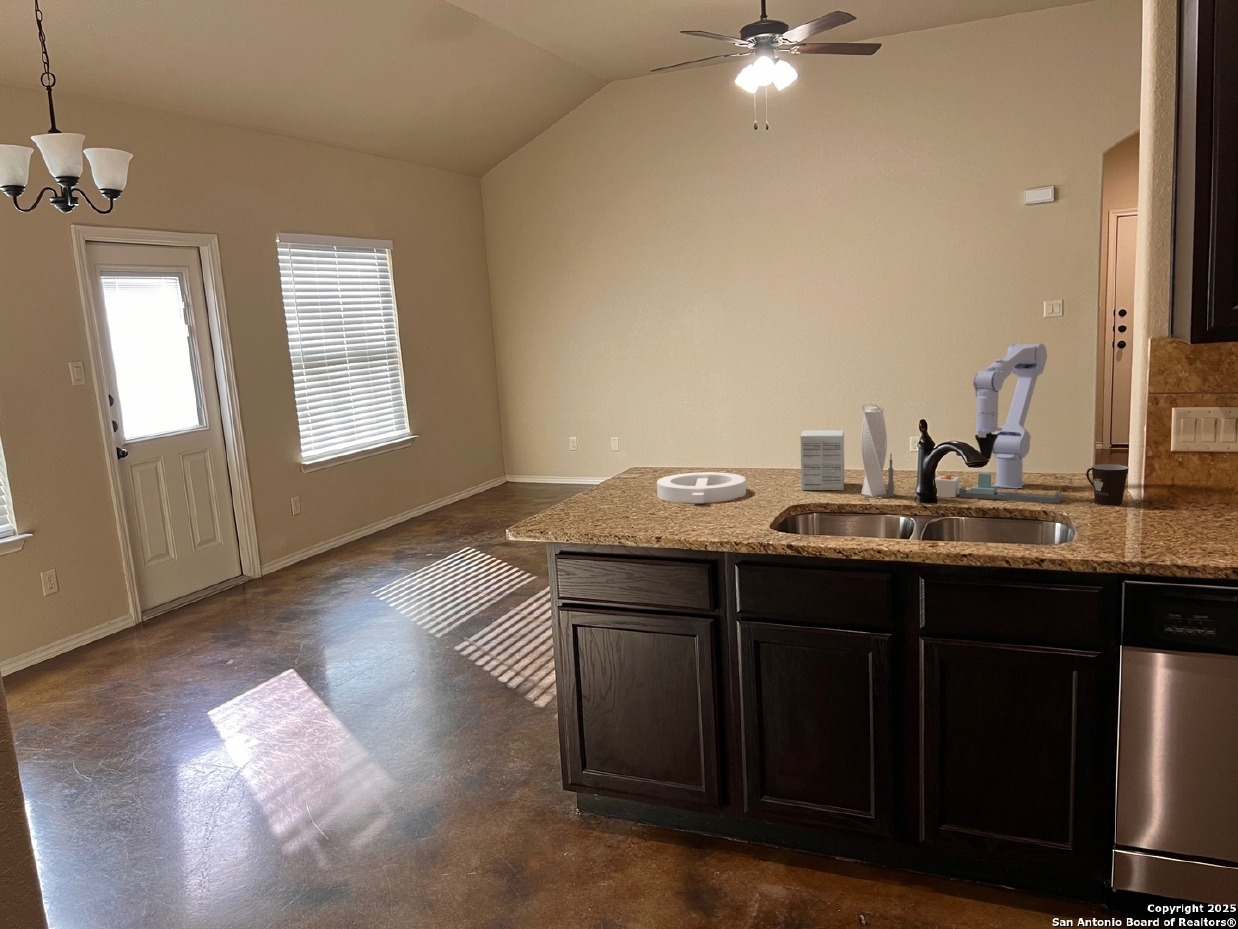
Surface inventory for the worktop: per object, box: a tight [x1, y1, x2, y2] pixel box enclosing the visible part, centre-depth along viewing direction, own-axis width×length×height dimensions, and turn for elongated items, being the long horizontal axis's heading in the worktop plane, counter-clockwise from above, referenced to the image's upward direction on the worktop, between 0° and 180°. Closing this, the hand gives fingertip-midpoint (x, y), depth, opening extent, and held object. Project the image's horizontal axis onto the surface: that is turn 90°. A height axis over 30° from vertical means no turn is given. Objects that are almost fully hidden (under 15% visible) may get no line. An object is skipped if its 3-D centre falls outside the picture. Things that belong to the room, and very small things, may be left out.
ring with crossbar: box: [656, 471, 747, 504], centre depth 277 cm, size 28×28×5 cm
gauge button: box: [941, 474, 952, 480], centre depth 256 cm, size 2×2×2 cm
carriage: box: [970, 471, 999, 494], centre depth 250 cm, size 6×6×5 cm
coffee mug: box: [1085, 463, 1129, 506], centre depth 237 cm, size 12×9×10 cm
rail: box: [958, 486, 1062, 504], centre depth 247 cm, size 4×26×2 cm, turn 57°
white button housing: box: [934, 475, 961, 498], centre depth 256 cm, size 6×6×5 cm
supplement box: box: [799, 429, 845, 491], centre depth 277 cm, size 13×13×18 cm
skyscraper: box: [860, 402, 896, 498], centre depth 259 cm, size 8×8×28 cm
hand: (986, 459), depth 254 cm, fingers closed
